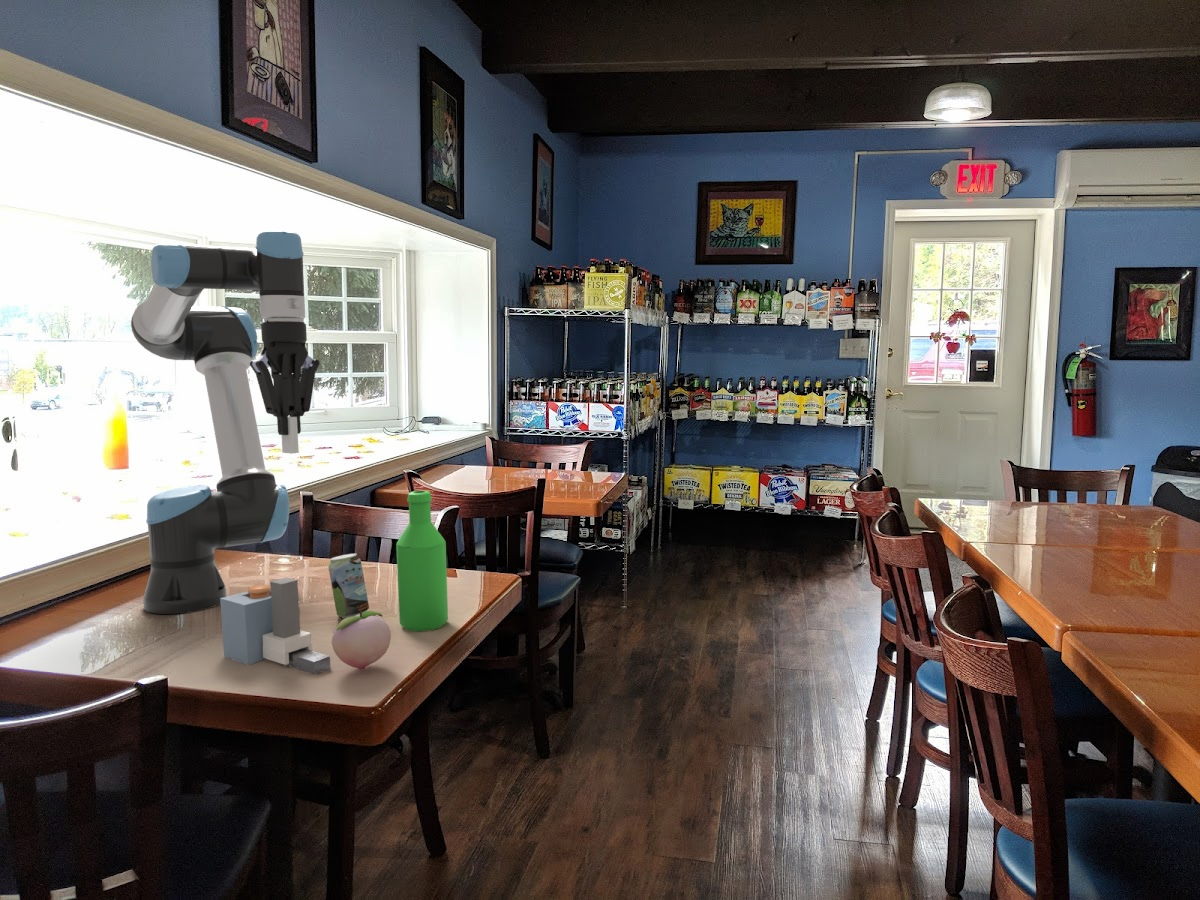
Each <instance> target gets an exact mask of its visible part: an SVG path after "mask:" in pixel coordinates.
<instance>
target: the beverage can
mask: <svg viewBox="0 0 1200 900" xmlns="http://www.w3.org/2000/svg"><path fill="white" fill-rule="evenodd" d="M328 572H329V577H330V584H331V589H332V594H333V599H334V601H333V602H334V605H335V612H336V615H337V616H338V617H341V618H342V619H345V618H347V617H352V616H356V615H358V614H360V608H362V613H363V612H366V611H369V609H370V605H369V600H368V599H369V598H368V593H367V588H366V581H365V576H364V570H363V564H362V560H361V558H360V557H359V556H358V554H357V553H347V554H341V555H338V556H337V555H336V556H333V557H331V558H330V561H329V564H328Z"/></svg>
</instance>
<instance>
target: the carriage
mask: <svg viewBox="0 0 1200 900" xmlns="http://www.w3.org/2000/svg"><path fill="white" fill-rule="evenodd" d="M269 585H270V586H271V604H272V621H273V632H271V633H268V634H264V635H262V636H263V658H266V659H265V660H268V661H269V660H270V661H272V662H275V663H277V664H282V665H284V666H288V665H287V664H289V653H290V652H293V651H296V650H299V649H302V648H305V649H308V650H311V651H314V650H313V643H312V640H313V639H312V633H311V632H308V631H304V630H301V623H300V622H301V621H300V620H301V618H299V616H300V599H298V598H299V583H298V579H295V578H291V577H286V576H285V577H283V578H278V579H275V580H274V579H273V580H270V582H269Z"/></svg>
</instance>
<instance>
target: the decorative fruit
mask: <svg viewBox="0 0 1200 900" xmlns="http://www.w3.org/2000/svg"><path fill="white" fill-rule="evenodd" d="M381 617H383V614H382V613H381V612H379V611H377V610H376V611H375V610H366V612H363V613H362V608H360V614H358V615H356V616H352V617H347V618H342V620H341V621H340V622H339V623H338V625H337V627H336V628H335V630H334V631H333V634H332V637H331V645H332V650H333V652H334V654H335V656H336V657H337V658H338V659H339V660H340V661H341V662H343V663H344V664H346V665H347V666H349V667H352V668H355V669H358V670H365V668H367V667H368V666H370V665H372V664H374V663H375V662H377V661H378V660H380V659H381V658H382V657H384V656H385V654H386V653H387V651H388V649H389V647H390V644H391V638H392V635H391V629H390V626H389V624H388V623H387V622H386V620H384V619H383V618H381Z"/></svg>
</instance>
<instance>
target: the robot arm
mask: <svg viewBox="0 0 1200 900" xmlns="http://www.w3.org/2000/svg"><path fill="white" fill-rule="evenodd" d="M255 240H256V241H255V242H256V244H255V248H248V247H234V246H231V247H230V246H214V245H202V244H200V245H199V244H189V243H188V244H185V243H180V242H174V243H158V244H157V243H156V244H155V245H154V246H153V248H152V251H151V256H150V257H151V258H150V267H151V269H150V270H151V275H152V280H153V281H154V284H153V286H152V288H151V289H150V292H149V295H148V296H147V298H146V300H145V301H143V302H141V303H140V304H139V305H138V306H136V308H135V310H134V312H133V314H132V316H131V321H130V325H131V332H132V334H133V336H134V338H135V339H136V341H137V342H138V344H140V346H141V347H143V348H144V349H145V350H147V351H148V352H149V353H150V354H151V353H152V354H153V355H155V356H158V357H161V358H163V359H166V360H172V361H193V363H194V367H195V370H196V371H197V372H198V373H200V374H201V375H203V376H204V379H205V380H204V381H205V385H206V391H207V397H208V402H209V407H210V408H209V409H210V413H211V420H212V424H213V431H214V435H215V442H216V446H217V447H216V448H217V454H218V459H219V465H220V469H221V471H220V472H221V475H222V477H221V478H220V479H219V480H218V481H217V483H216V484H215V485H216V491H212V489H211V488H210V486H208V485H204V484H200V485H193V486H192V485H190V486H189V485H188V486H183V487H178V488H173V489H169V490H166V491H163V492H160V493H157V494H155V495H153V496H152V497H150V499H149V500H148V501H147V504H146V505H147V506H146V524H147V529H148V544H149V557H150V560H149V561H150V573H149V577H148V581H147V583H146V587H145V591H144V594H143V609H144V611H145V612H147V613H151V614H159V615H174V614H186V613H187V614H188V613H193V612H198V611H202V610H206V609H207V610H208V609H211V608H213V607H216V606H218V605H221V604H220V598H223V597H227V596H228V595H227V587H226V585H225V582H224V581H223V578H222V576H221V573H220V571H219V569H218V566H217V564H216V560H215V550H216V549H219V548H220V549H221V548H228V547H234V546H235V547H236V546H241V545H242V546H243V545H250V544H251V545H252V544H258V543H259V544H262V543H265V542H268V541H273V540H274V541H275V540H277V539H280V538H281V537H282V536H283V535H284V534H285V532H286V530H287V528H288V523H289V516H290V497H289V492H288V490H287V487H286V486H285V485H284V484H280V483H276V477H275V475H274V474H273V473H271V472H270V471H268V470H267V469H266V466H265V460H264V455H263V450H262V445H261V439H260V435H259V429H258V424H257V417H256V414H255V408H254V403H253V402H254V401H253V397H252V393H251V388H250V382H249V377H248V373H247V372H248V369H249V368H251V370H252V371H253V372H254V374H255V375H256V380H257V383H258V387H259V391H260V394H261V397H262V401H263V404H264V408H265V413H266V414H268V415H273V417H275V418H276V421H277V433H278V435H279V436H281V449H282V453H283V454H290V455H291V454H298V453H299V452H300V450H299V434H301V431H302V429H301V428H302V427H301V417H303V416H305V413H308V412H309V411H310V409H311V404H312V398H313V391H314V386H315V385H314V383H315V377H316V372H317V370H318V368H319V366H320V364H321V362H320V360H319V359H314V358H312V357H311V356H310V355H309V352H308V349H307V348H306V342H307V340H308V339H307V336H308V335H307V324H306V323H305V322H304V321H303V320H305V319H306V303H305V302H306V301H305V284H304V283H305V279H304V258H303V257H304V251H303V245H302V238H301V236H300V235H299V234H298V233H297V232H294V231H289V230H288V231H287V230H262V231H259V232H257V235H256V239H255ZM205 289H208V290H210V289H211V290H212V289H214V290H236V291H237V290H239V291H253V292H256V293H257V292H259V313H260V314H259V315H260V318H261V319H262V320H263V322H262V323H261V324H260V329H261V331H260V332H261V342H262V343H263V348H262V351H261V356H260V357H258V358H257V359H256V360H253V359H255V358H256V356H257V354H258V351H259V350H258V349H259V344H258V341H257V340H258V335H257V329H256V326H255V324H254V321H253V320H252V317H251V315H250V314H249V313H248V312H247V311H246V310H244V309H243V308H241V307H229V306H194V304H195V303H196V301H197V300H198V298H199V297H200V295H201V294H202V292H203V290H205ZM269 368H270V370H271V371H269Z"/></svg>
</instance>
